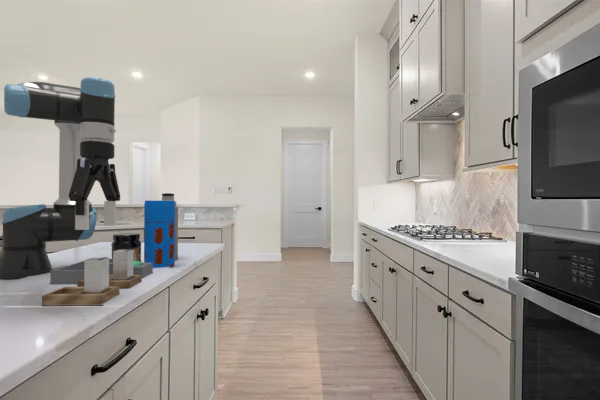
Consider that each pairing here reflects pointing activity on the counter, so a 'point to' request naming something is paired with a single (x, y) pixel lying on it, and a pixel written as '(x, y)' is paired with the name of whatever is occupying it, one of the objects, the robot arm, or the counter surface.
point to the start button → (136, 263)
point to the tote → (72, 273)
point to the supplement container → (127, 244)
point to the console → (143, 269)
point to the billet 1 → (96, 275)
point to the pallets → (78, 297)
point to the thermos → (159, 233)
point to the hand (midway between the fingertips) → (97, 227)
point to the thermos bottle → (171, 198)
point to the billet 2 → (123, 264)
